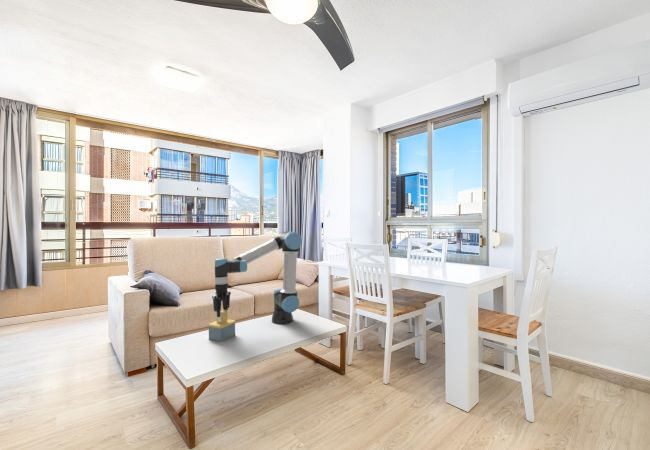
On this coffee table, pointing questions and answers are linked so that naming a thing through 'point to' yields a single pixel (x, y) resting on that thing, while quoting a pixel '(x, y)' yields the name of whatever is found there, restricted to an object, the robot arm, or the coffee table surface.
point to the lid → (224, 322)
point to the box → (221, 332)
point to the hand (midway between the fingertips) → (222, 320)
